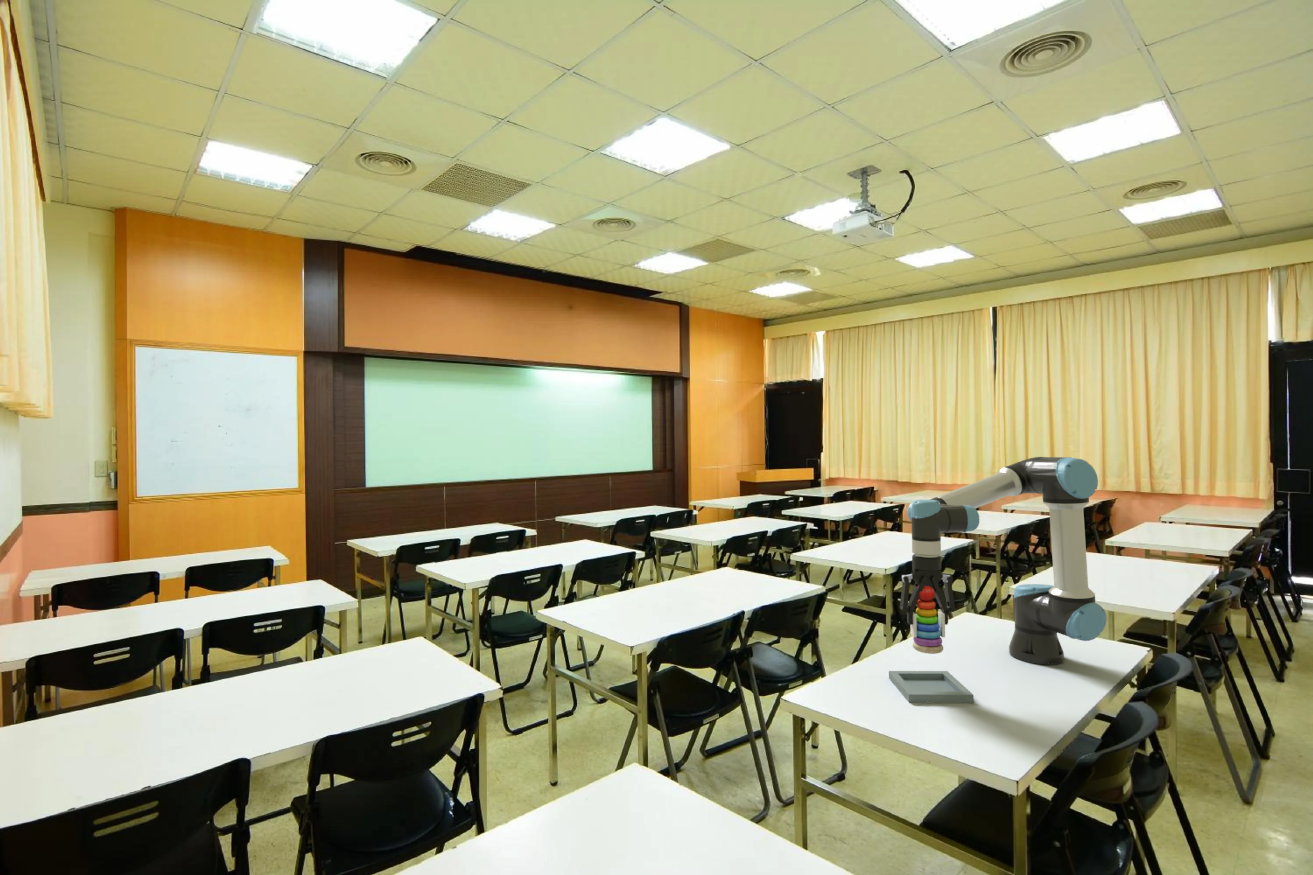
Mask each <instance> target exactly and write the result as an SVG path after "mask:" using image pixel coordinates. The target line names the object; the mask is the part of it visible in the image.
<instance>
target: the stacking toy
mask: <svg viewBox="0 0 1313 875" xmlns="http://www.w3.org/2000/svg"><path fill="white" fill-rule="evenodd" d="M917 587H918V586H917ZM935 597H936V596H935V590H934V588H932V587H930V586H924V588H923V590H922V591H920V596H919V599H918V602H917V604H916V608H915V613H916V620H917V637H913V636H912V637H913V638H912V639H913V643H912V648H914V650H915V651H917V652H920V653H923V654H929V655H937V654H940V653H942V652H943V651H944V645H943V637H941V632H940V630H939V628H940V625H939V624H938V611H937V609H936V602H935V601H934V598H935Z"/></svg>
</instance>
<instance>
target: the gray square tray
mask: <svg viewBox="0 0 1313 875" xmlns="http://www.w3.org/2000/svg"><path fill="white" fill-rule="evenodd" d="M888 679H889V680H890V681H891V683H892V684H893V685H894V687H896V689H897V690H898V691H899V692H900V693H901V695H902V696H903V697H904V698H905V700H906V701H907V702H908V703H913V704H914V703H915V704H916V703H920V704H921V703H922V704H926V703H927V704H928V703H929V704H931V703H933V704H936V703H937V704H941V703H945V704H946V703H948V704H949V703H950V704H955V703H956V704H973V703H974V699H975V698H974V697H975V696H974V694H973V693H972V691H970V690H969V689H968V688H967V687H966V686H964V684H962V683H961V682H960V681H959V680H958V679H957V678H956V677H954V675H953V674H951V673H950V672H949V671H948V670H888Z"/></svg>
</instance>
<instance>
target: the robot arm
mask: <svg viewBox="0 0 1313 875" xmlns="http://www.w3.org/2000/svg"><path fill="white" fill-rule="evenodd" d="M1098 486H1099V478H1098V475H1097V472H1096V470H1095V468H1094V467H1093V465H1091V464H1090V463H1089V462H1088V461H1086V460H1085V459H1081V458H1078V457H1077V458H1076V457H1069V456H1065V457H1064V456H1059V457H1058V456H1054V457H1053V456H1050V457H1049V456H1034V457H1031V458H1026V459H1023V460H1021V461H1016V462H1015V463H1012V464H1009V465H1006V466H1004V467H1002V468H999V470H997V472H996V474H993V475H991V476H987V477H985V478H982V479H979V480H977V481H975V482H973V483H970V484H967V485H965V486H962V487H959V488H957V489H954V490H951V491H949V492H946V493H943V494H941V495H937V496H936V497H933V498H931V499H915V500H913V501H912V502H911V503H910V504H909V506H908V507H907V510H906V511H907V512H906V513H907V517H908V519H909V521H910V522H911V552H912V553H913V554H912V555H911V559H912V560H911V563H912V564H911V567H912V568H911V569H912V570H911V572H910V574H901V577H900V578H901V583H902V586H901V595H900V602H899V603H900V604H899V608H900V610H902V611H904V612H906V622H907V624H909V625H910V626H909V627H910V635H911V636H912V637H917V620H916V614H917V613H916V612H915V611H916V608H917V605H916V604H917V602H918V600H920V599H919V596H920V591H922V590H923V588H924V586H930V587H932V588H934V590H935V596H934V597H935V598H936V601H937V604H938V606H939V608H940V610H941V611H937V618H938V621H937V623H938V624H939V625H940V628H939V630H940V632H941V636H940V637H941V638H946V626H947V625H948V624H949V615H950V613H951V612H955V611H956V607H955V605H956V604H955V599H954V591H953V585H952V584H953V581H954V577H953V576H952V575H949V574H943V573H942V556H940V555H941V554H942V549H941V548H942V542H941V539H942V538H941V537H942V536H941V535H942V534H945V533H946V534H947V533H968V532H973V531H975V530H977V529H978V527H979V526H980V514H979V512H978V511H977V509H978V508H981V507H982V506H985V505H988V504H991V503H993V502H996V501H999V500H1000V499H1003V498H1006V497H1008V496H1009V497H1018V496H1020V495H1024V494H1039V495H1042V502H1043V504H1044V505H1046V507H1048V509H1049V511H1048V512H1049V525H1050V541H1051V554H1052V555H1051V556H1052V557H1051V558H1052V571H1053V572H1052V573H1053V574H1052V575H1053V584H1044V583H1043V584H1041V583H1032V584H1031V583H1029V584H1028V583H1026V584H1019V585H1017V586H1015V587H1014V592H1013V593H1014V594H1013V595H1014V596H1013V607H1014V608H1013V609H1014V613H1013V614H1014V630H1013V631H1014V632H1013V634H1012V637H1011V640H1010V643H1009V645H1008V654H1009V655H1010V656H1012V657H1013V658H1015V659H1017V660H1020V661H1023V662H1027V663H1032V664H1037V665H1046V666H1047V665H1050V666H1051V665H1059V664H1063V663H1064V662H1065V653H1064V649H1063V647H1062V645H1061V641H1060V639H1059V637H1058V634H1060V635H1063V636H1066V637H1068V638H1070V639H1073V640H1078V641H1083V642H1089V641H1092V640H1095V639H1096V638H1098V637H1099V636H1100V635H1101V633H1103V631H1104V630H1105V627H1106V626H1107V625H1106V624H1107V613H1106V610H1105V609H1104V608H1103V606H1101V604H1098V603H1096V593H1095V592H1094V591H1093V590H1092V589H1091V588H1090V587H1089V580H1088V578H1089V577H1088V562H1087V560H1088V559H1087V548H1086V544H1087V543H1086V530H1085V517H1084V508H1085V507H1086V506H1088V504H1089V503H1090V497H1093V495H1094V494H1095V493H1096V490H1097V489H1098ZM912 580H913V581H914V585H913V590H912V592H911V596H910V586H911V585H910V583H911V582H912ZM941 580H942V582H943V587H944V595H945V599H944V597H943V594H942V592H941V587H940V585H939V583H940V582H941ZM917 586H918V587H917ZM909 596H910V598H909Z"/></svg>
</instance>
